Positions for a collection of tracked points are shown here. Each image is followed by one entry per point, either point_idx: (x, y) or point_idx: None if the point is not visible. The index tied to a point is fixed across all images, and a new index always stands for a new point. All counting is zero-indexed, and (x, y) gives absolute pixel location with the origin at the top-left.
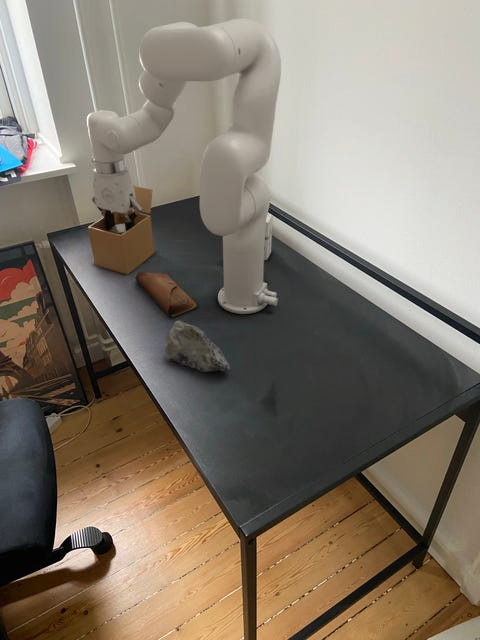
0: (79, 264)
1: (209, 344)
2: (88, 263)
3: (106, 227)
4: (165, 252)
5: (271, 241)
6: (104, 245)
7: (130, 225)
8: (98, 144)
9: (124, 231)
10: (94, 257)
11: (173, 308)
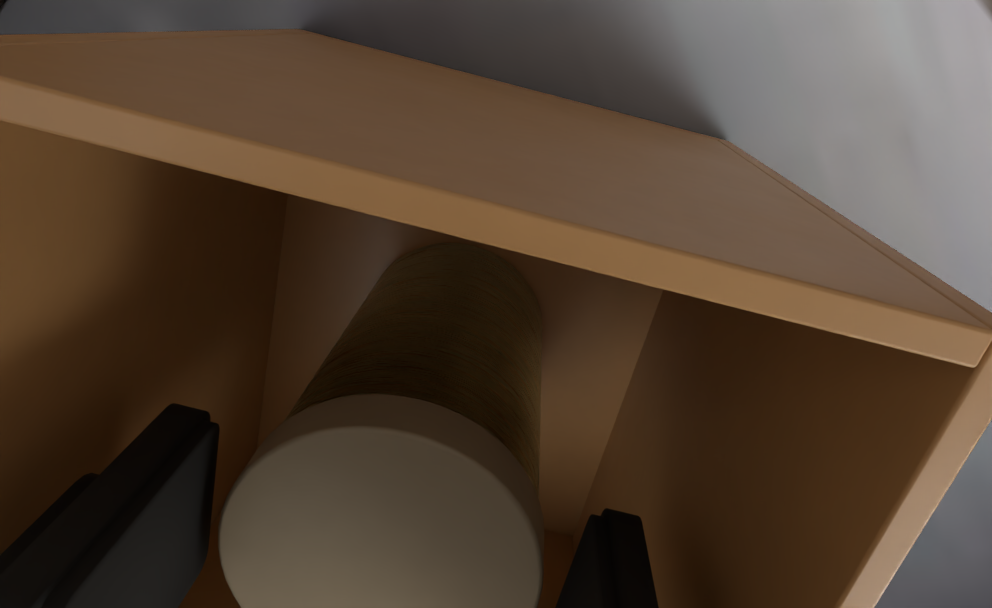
0: (918, 115)
1: None
2: (816, 158)
3: (634, 547)
4: None
5: None
6: (543, 140)
7: (10, 564)
8: None
9: (255, 477)
10: (742, 155)
11: None
